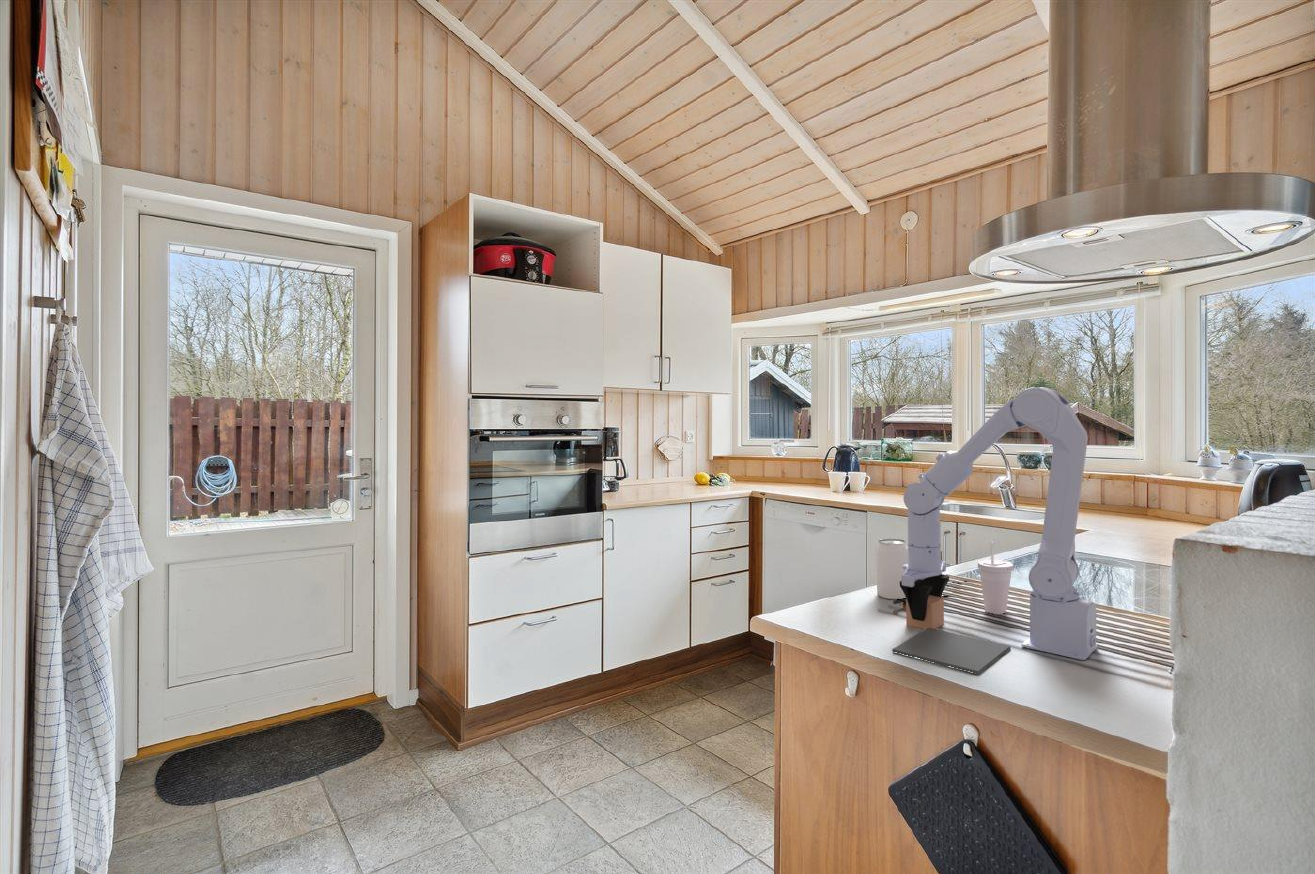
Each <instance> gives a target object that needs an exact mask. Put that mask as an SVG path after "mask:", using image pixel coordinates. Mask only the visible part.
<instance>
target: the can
mask: <svg viewBox="0 0 1315 874" xmlns="http://www.w3.org/2000/svg"><path fill="white" fill-rule="evenodd" d="M906 543H907V541H906V540H904V539H900V538H881V539H878V544H877V546H876V592H877V593H876V594H877V595H878V597H880V598H882V599H885V600H889V601H890V600H891V601H898V600H897V599H900V598H904V597H906V596H905V594H904V592H903V590H902V589H901V587H900V581H901V580H902V575H903V574H904V573H905V571H906V570H905V569H903V565H905V564H908V545H907V544H906Z"/></svg>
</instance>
